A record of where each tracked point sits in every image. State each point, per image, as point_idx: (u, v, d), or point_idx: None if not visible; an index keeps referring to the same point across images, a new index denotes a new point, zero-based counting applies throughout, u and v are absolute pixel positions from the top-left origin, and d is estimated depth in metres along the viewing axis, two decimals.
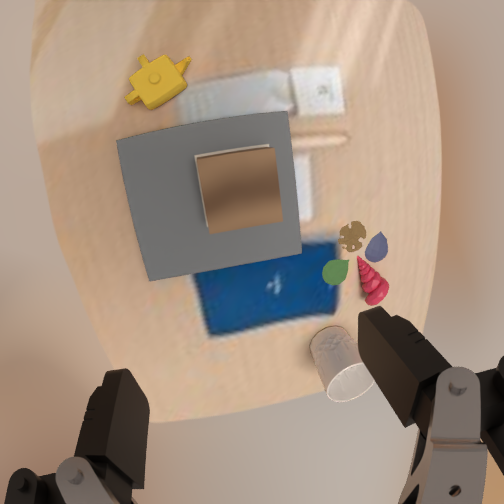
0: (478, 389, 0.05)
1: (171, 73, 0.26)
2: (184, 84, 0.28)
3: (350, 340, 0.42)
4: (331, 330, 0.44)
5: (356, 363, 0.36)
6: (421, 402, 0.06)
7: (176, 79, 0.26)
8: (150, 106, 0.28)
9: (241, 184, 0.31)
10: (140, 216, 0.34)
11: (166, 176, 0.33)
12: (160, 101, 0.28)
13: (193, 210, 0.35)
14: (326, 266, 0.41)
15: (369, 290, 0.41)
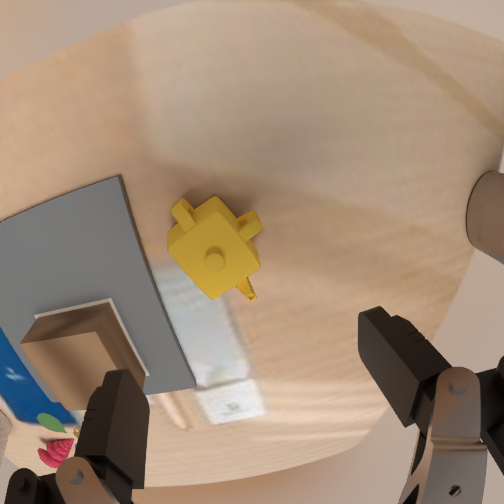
0: (478, 389, 0.05)
1: (224, 281, 0.19)
2: None
3: (4, 444, 0.23)
4: (3, 420, 0.26)
5: None
6: (421, 402, 0.06)
7: (214, 290, 0.19)
8: None
9: (85, 378, 0.20)
10: (21, 227, 0.18)
11: (75, 262, 0.20)
12: None
13: (45, 298, 0.21)
14: (51, 417, 0.27)
15: (49, 453, 0.27)
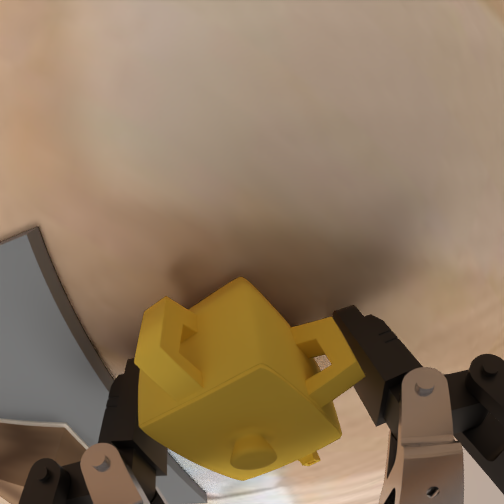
0: (445, 390, 0.05)
1: None
2: None
3: None
4: None
5: None
6: (389, 401, 0.07)
7: (245, 473, 0.08)
8: None
9: None
10: None
11: (1, 371, 0.09)
12: None
13: None
14: None
15: None
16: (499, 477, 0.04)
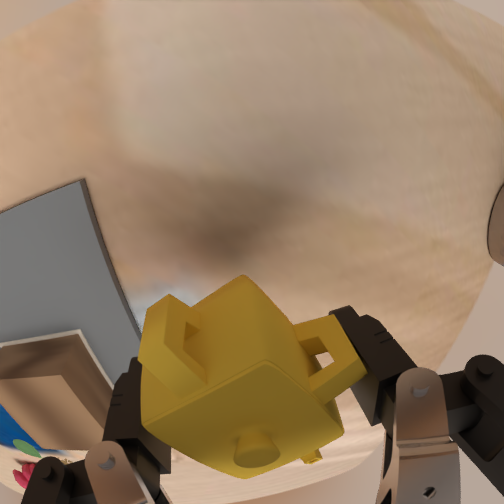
0: (440, 391, 0.05)
1: None
2: None
3: None
4: None
5: None
6: (384, 401, 0.07)
7: (248, 471, 0.08)
8: None
9: (56, 420, 0.14)
10: None
11: (36, 286, 0.15)
12: None
13: (8, 326, 0.16)
14: (27, 443, 0.22)
15: (25, 475, 0.21)
16: (496, 477, 0.04)
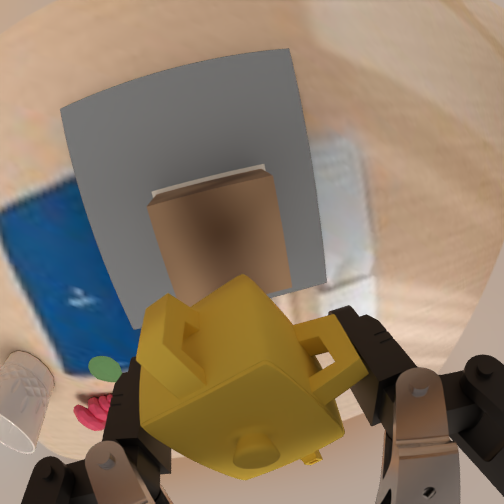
0: (440, 391, 0.05)
1: None
2: None
3: (45, 406, 0.24)
4: (46, 376, 0.26)
5: (26, 435, 0.18)
6: (384, 401, 0.07)
7: (247, 472, 0.08)
8: None
9: (234, 249, 0.20)
10: (164, 83, 0.18)
11: (230, 122, 0.20)
12: None
13: (176, 167, 0.21)
14: (111, 360, 0.27)
15: (92, 410, 0.27)
16: (496, 477, 0.04)
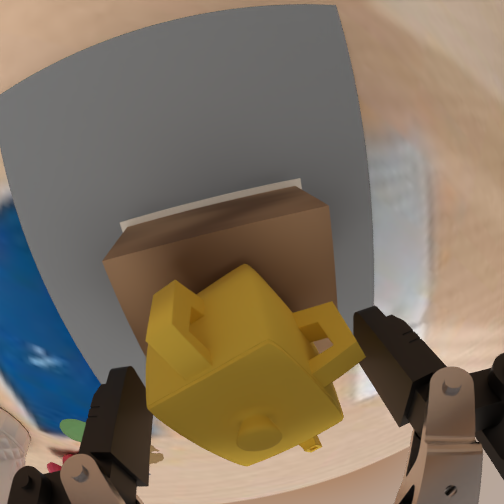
0: (472, 389, 0.05)
1: (272, 446, 0.08)
2: None
3: (21, 467, 0.15)
4: (19, 432, 0.17)
5: None
6: (415, 402, 0.06)
7: (250, 457, 0.08)
8: None
9: None
10: (140, 48, 0.10)
11: (247, 109, 0.12)
12: None
13: (157, 183, 0.13)
14: None
15: None
16: None
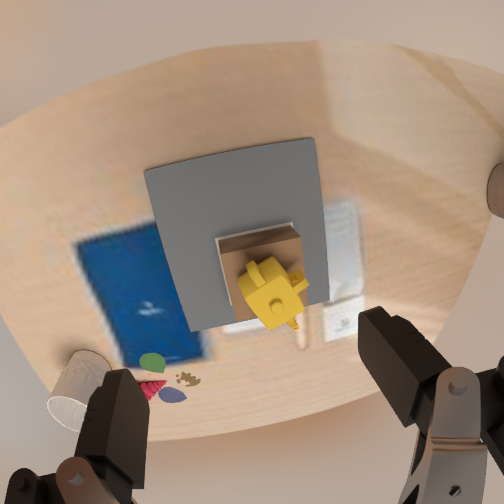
0: (478, 389, 0.05)
1: (280, 319, 0.27)
2: None
3: None
4: (108, 369, 0.37)
5: None
6: (421, 402, 0.06)
7: (272, 324, 0.27)
8: (242, 293, 0.27)
9: None
10: (226, 162, 0.30)
11: (271, 193, 0.31)
12: None
13: (233, 222, 0.32)
14: (160, 356, 0.38)
15: None
16: None
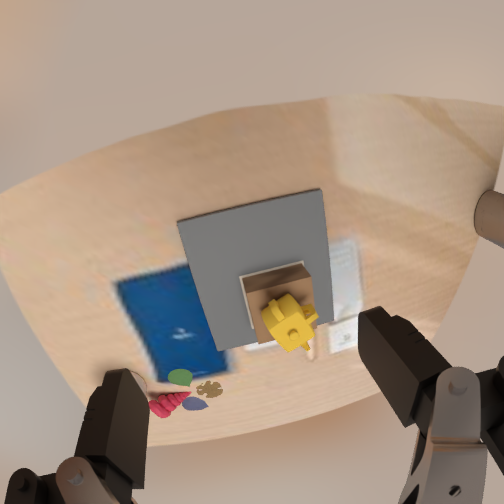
0: (478, 389, 0.05)
1: (296, 343, 0.34)
2: None
3: None
4: (144, 385, 0.43)
5: None
6: (421, 402, 0.06)
7: (290, 347, 0.34)
8: None
9: None
10: (248, 214, 0.36)
11: (286, 238, 0.38)
12: None
13: (254, 263, 0.38)
14: (188, 372, 0.45)
15: (163, 404, 0.44)
16: None
